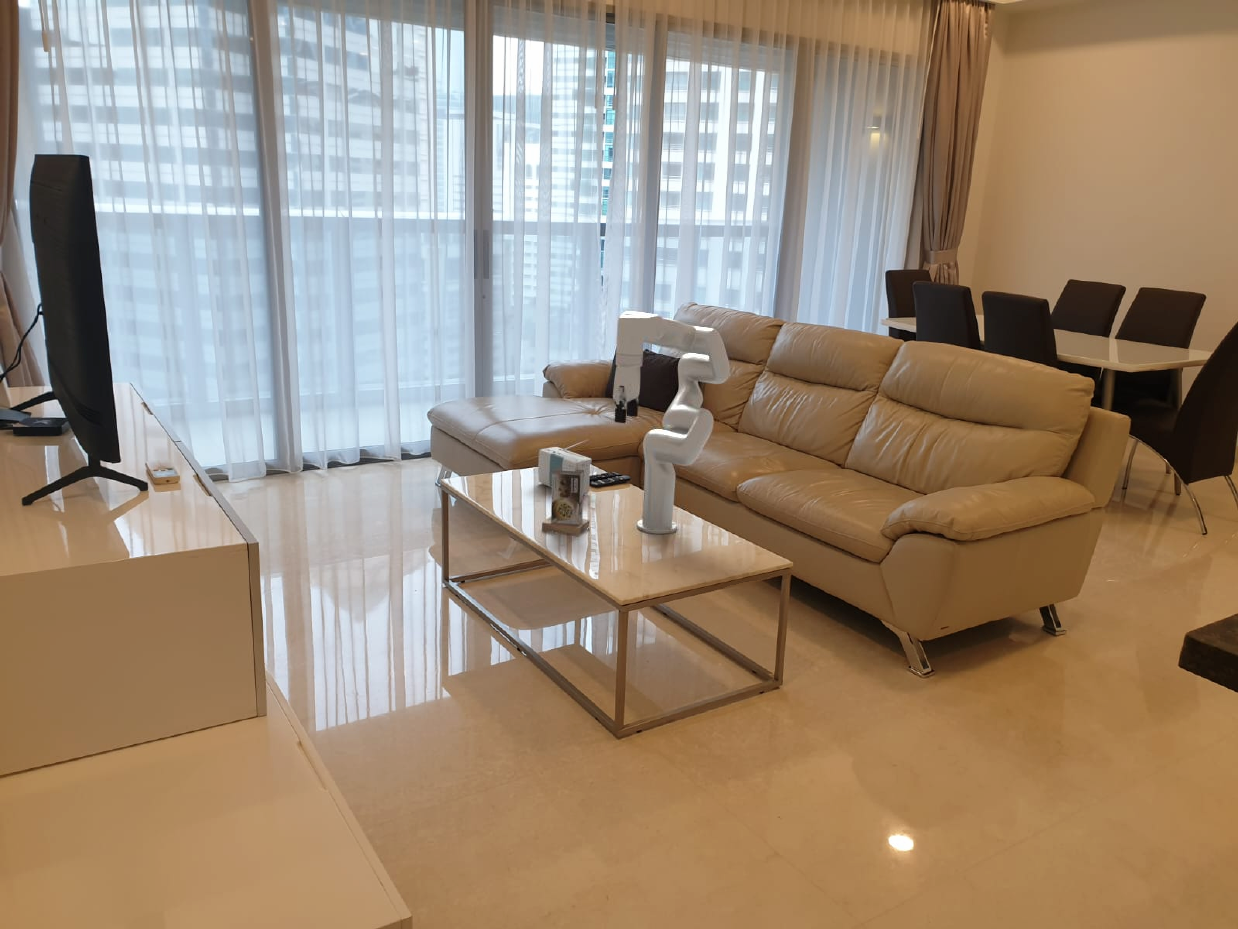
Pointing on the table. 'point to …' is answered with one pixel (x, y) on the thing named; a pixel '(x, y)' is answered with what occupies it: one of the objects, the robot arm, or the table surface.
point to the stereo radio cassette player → (562, 464)
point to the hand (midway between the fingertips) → (626, 419)
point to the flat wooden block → (565, 527)
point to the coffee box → (567, 496)
